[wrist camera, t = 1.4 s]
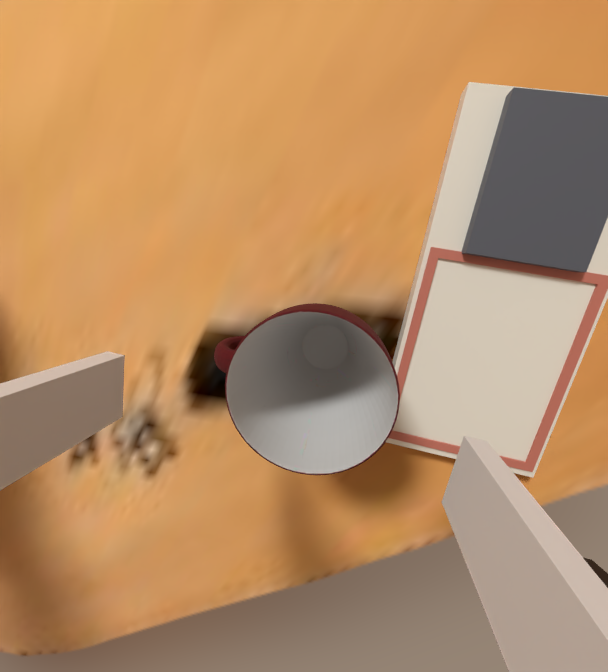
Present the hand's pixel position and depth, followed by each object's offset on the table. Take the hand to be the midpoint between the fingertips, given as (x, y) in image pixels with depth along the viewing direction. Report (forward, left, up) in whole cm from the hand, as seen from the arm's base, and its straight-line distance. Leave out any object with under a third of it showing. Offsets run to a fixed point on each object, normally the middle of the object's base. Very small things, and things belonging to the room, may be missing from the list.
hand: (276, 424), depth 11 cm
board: (+12, +6, -12) cm, 18 cm away
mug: (0, 0, -13) cm, 13 cm away
